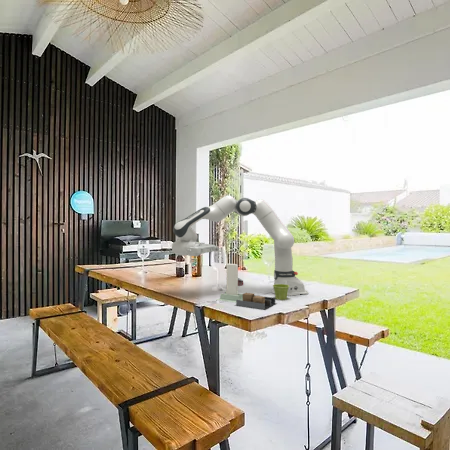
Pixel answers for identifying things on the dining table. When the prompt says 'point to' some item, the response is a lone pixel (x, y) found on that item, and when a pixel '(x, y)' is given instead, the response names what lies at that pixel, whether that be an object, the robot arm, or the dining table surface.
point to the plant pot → (281, 291)
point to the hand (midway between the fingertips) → (214, 249)
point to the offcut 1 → (248, 297)
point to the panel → (232, 279)
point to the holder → (230, 297)
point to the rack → (255, 305)
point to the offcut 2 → (259, 299)
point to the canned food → (240, 282)
